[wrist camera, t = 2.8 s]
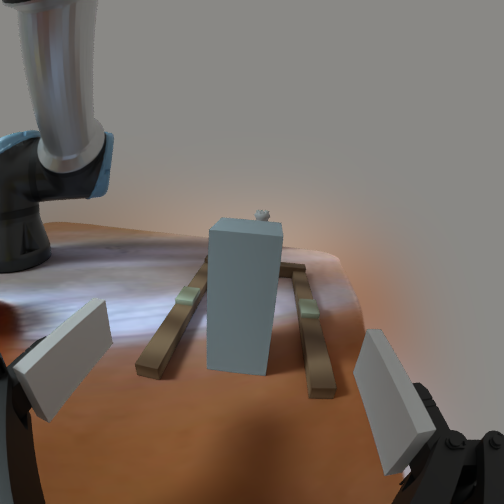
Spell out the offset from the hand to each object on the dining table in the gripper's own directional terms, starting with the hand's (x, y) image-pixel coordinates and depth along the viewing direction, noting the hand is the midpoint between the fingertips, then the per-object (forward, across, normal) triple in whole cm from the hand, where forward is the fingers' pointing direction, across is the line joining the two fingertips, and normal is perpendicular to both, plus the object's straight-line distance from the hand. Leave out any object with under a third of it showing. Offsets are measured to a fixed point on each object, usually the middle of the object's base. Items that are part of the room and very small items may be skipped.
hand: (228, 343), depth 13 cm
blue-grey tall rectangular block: (+10, 0, -8) cm, 13 cm away
